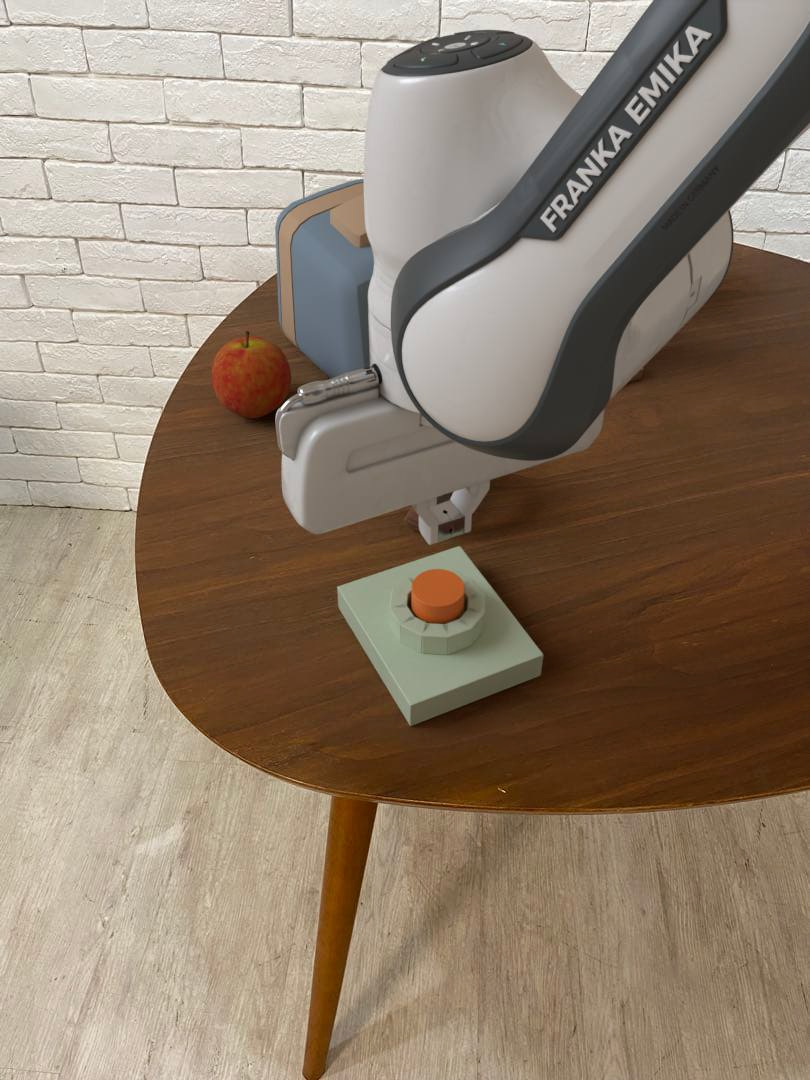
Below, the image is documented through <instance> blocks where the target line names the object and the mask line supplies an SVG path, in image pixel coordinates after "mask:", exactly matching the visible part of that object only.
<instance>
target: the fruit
mask: <svg viewBox="0 0 810 1080" xmlns="http://www.w3.org/2000/svg"><path fill="white" fill-rule="evenodd" d="M211 384H212V385H211V386H212V388H213V391H214V393H215V396H216V398H217V399H218V401H219V402H220V404H221V405H222V406H223V407H224V408H225V409H227V410H228V411H230V412H232V413H234V414H236V415H238V416H239V415H240V416H242V417H246V418H249V419H258V418H262V417H264V416H266V415H268V414H270V413H272V412H274V411H275V410H277V409H279V408H280V407H281V406H282V405H283V404H284V403H285V401H286V399H287V398H288V395H289V393H290V391H291V386H292V371H291V366H290V363H289V361H288V358H287V356H286V354H285V353H284V351H283V350H282V349H281V348H280V347H279V346H278V345H277V344H276V343H274V342H272V341H271V340H269V339H268V338H267V339H266V338H265V337H262V336H258V335H250V331H248V330H246V331H245V336H243V337H238V338H235V339H232V340H230V341H228V342H226V343H225V344H223V346H222V347H221V348H220V349H219V350H218V352H217V353H216V355H215V357H214V360H213V363H212V367H211Z"/></svg>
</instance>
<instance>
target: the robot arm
mask: <svg viewBox="0 0 810 1080" xmlns="http://www.w3.org/2000/svg"><path fill="white" fill-rule="evenodd" d="M364 130H365V131H364V142H363V144H364V145H363V149H364V150H363V179H364V214H365V228H366V232H367V237H368V239H369V242H370V245H371V248H372V251H373V257H374V268H373V274H372V277H371V281H370V285H369V289H368V306H369V307H368V322H369V348H370V367H366V368H362V369H359V370H355V371H351V372H348V373H345V374H342V375H340V376H338V377H335V378H332V379H331V378H329V379H325V380H315V381H312V382H308V383H305V384H303V385H301V386H299V387H298V388H297V393H296V394H294V395H292V396H291V397H289V398H288V399H287V400H285V401H284V402H283V403H282V404H281V405H280V407H278V408H277V409H276V410H277V411H276V413H275V419H274V421H275V434H276V443H277V447H278V449H279V450H280V452H281V491H282V497H283V501H284V503H285V505H286V507H287V508H288V510H289V513H290V514H291V516H292V517H293V518H294V521H296V523H297V524H298V525H299V526H300V527H301V528H302V529H304V530H306V531H308V532H309V533H311V534H312V535H322V534H325V533H329V532H331V531H334V530H338V529H341V528H345V527H348V526H350V525H353V524H357V523H359V522H362V521H366V520H369V519H373V518H376V517H379V516H382V515H385V514H388V513H391V512H394V511H398V510H400V509H404V508H407V507H409V506H410V505H411V506H412V507H413V509H414V510H415V511H416V513H417V514H418V515H419V530H420V535H421V536H422V537H423V539H424V540H425V542H426V543H427V544H428V545H429V546H432V545H434V544H437V543H440V542H443V541H445V540H448V539H453V538H455V537H458V536H461V535H464V534H467V533H470V532H471V531H472V522H473V521H472V520H473V514H474V513H475V511H476V510H477V508H478V507H479V506H480V504H481V503H482V501H483V500H484V498H485V497H486V495H487V494H488V492H489V491H490V487H491V482H490V480H491V481H492V480H494V479H498V478H501V477H504V476H507V475H510V474H513V473H517V472H519V471H522V470H526V469H529V468H532V467H536V466H539V465H542V464H545V463H548V462H551V461H554V460H557V459H560V458H564V457H567V456H570V455H573V454H576V453H579V452H583V451H585V450H587V449H589V448H590V447H591V446H592V444H593V443H594V442H595V440H596V439H597V438H598V437H599V435H601V432H602V428H603V425H604V419H605V418H604V417H605V409H606V407H607V406H608V403H609V402H610V401H611V400H612V399H613V398H614V397H615V396H617V394H618V393H619V392H620V391H621V390H622V389H623V388H624V387H625V386H626V385H627V384H629V383H630V382H629V381H630V380H631V379H632V378H633V377H634V376H635V375H636V374H637V373H638V372H639V371H640V370H641V369H642V368H643V369H644V367H645V366H646V365H647V364H648V363H649V362H650V361H651V360H652V359H653V358H654V357H655V356H656V355H657V354H658V353H659V352H660V351H661V350H662V348H664V347H665V346H666V345H667V344H668V343H669V342H670V340H671V339H672V338H673V337H674V336H676V334H677V333H678V332H679V331H680V330H681V329H682V328H683V327H684V326H685V325H686V324H687V323H688V322H689V321H690V320H691V319H692V318H693V317H694V316H695V315H696V314H697V313H698V312H699V311H700V309H701V308H703V307H704V305H705V304H706V303H707V302H708V301H709V300H710V299H711V298H712V297H713V296H714V294H715V293H716V292H717V291H718V290H719V288H720V287H721V285H722V284H723V282H724V280H725V278H726V277H727V274H728V271H729V270H730V269H729V268H730V265H731V261H732V258H733V250H734V241H735V239H734V238H735V237H734V236H735V235H734V222H733V217H732V213H731V209H732V208H733V207H734V206H735V205H736V204H737V202H739V201H740V199H742V198H743V196H744V195H745V194H746V193H747V192H748V191H749V190H750V189H751V188H752V187H753V186H754V184H756V183H757V181H758V180H759V179H760V178H762V177H763V175H764V174H765V173H766V172H767V171H768V169H770V167H772V165H774V163H775V162H776V161H777V160H778V159H779V158H780V157H781V156H782V155H783V154H784V153H785V152H786V151H787V150H788V149H789V148H790V147H792V146H793V144H795V142H796V141H797V140H798V139H800V138H801V137H802V136H803V135H804V134H805V133H806V132H808V130H810V0H652V1H651V2H650V4H649V5H648V6H647V8H646V9H645V10H644V12H643V14H642V15H641V16H640V17H639V19H638V20H637V21H636V23H635V24H634V26H633V27H632V28H631V30H630V31H629V32H628V33H627V35H626V36H625V37H624V39H623V40H622V41H621V43H620V44H619V46H618V47H617V48H616V49H615V51H614V52H613V54H612V55H611V56H610V57H609V59H608V60H607V61H606V63H605V64H604V66H603V67H602V69H601V70H600V71H599V73H598V74H596V76H595V78H594V79H593V80H592V82H591V83H590V85H589V86H588V87H587V88H586V90H585V91H584V93H582V95H581V94H580V93H579V92H578V91H576V90H575V89H574V88H572V86H570V84H568V83H567V82H566V81H565V80H564V79H563V78H562V77H561V76H560V75H559V73H558V72H557V71H556V70H555V68H554V67H553V65H552V64H551V62H550V60H549V58H548V57H547V55H546V53H545V52H544V51H543V49H542V47H540V45H539V44H538V43H537V42H535V40H533V39H531V38H530V37H528V36H525V35H522V34H518V33H515V32H514V31H511V30H502V29H477V30H476V29H475V30H466V31H459V32H454V33H453V34H448V35H443V36H435V37H433V38H430V39H427V40H425V41H422V42H420V43H417V44H415V45H413V46H411V47H409V48H407V49H405V50H403V51H402V52H400V53H399V54H396V55H394V56H393V57H391V58H390V59H389V60H387V62H386V63H385V64H384V66H382V67H381V69H379V70H378V72H377V74H376V76H375V78H374V81H373V85H372V87H371V92H370V96H369V101H368V105H367V112H366V121H365V129H364ZM628 382H629V383H628ZM449 494H452V496H451V498H450V500H449V501H446V502H443V503H440V504H437V497H438V496H441V495H449Z"/></svg>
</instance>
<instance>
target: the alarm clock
mask: <svg viewBox="0 0 810 1080" xmlns="http://www.w3.org/2000/svg"><path fill="white" fill-rule="evenodd" d="M274 230H275V231H274V232H275V256H276V257H275V258H276V259H275V260H276V280H277V303H278V305H277V307H278V323H279V326H280V329H281V332H282V333H283V335H284V337H286V338H287V339H288V340H289V341H290V342H291V343H292V344H293V345H294V346H295V347H296V348H298V349H299V350H300V351H301V352H302V354H304V355H305V356H306V357H307V358H308V359H309V360H310V361H311V362H312V363H314V365H316V366H317V367H318V368H319V369H320V370H321V371H322V372H323V373H324V374H326V376H327V377H328V378H329V379H332V378H335V377H338V376H340V375H342V374H345V373H348V372H351V371H355V370H359V369H362V368H366V367H370V348H369V322H368V307H369V306H368V289H369V285H370V281H371V277H372V274H373V268H374V257H373V251H372V248H371V245H370V242H369V239H368V237H367V232H366V228H365V214H364V178H359V179H354V180H349V181H347V182H344V183H341V184H337V185H335V186H332V187H329V188H328V187H327V188H325V189H322V190H319V191H317V192H315V193H312V194H310V195H307V196H305V197H302V198H299V199H297V200H295V201H292V202H291V203H290V204H289V205H287V206H286V207H285V208H283V209H282V210H281V211H280V213H279V215H278V216H277V218H276V222H275V227H274Z"/></svg>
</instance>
